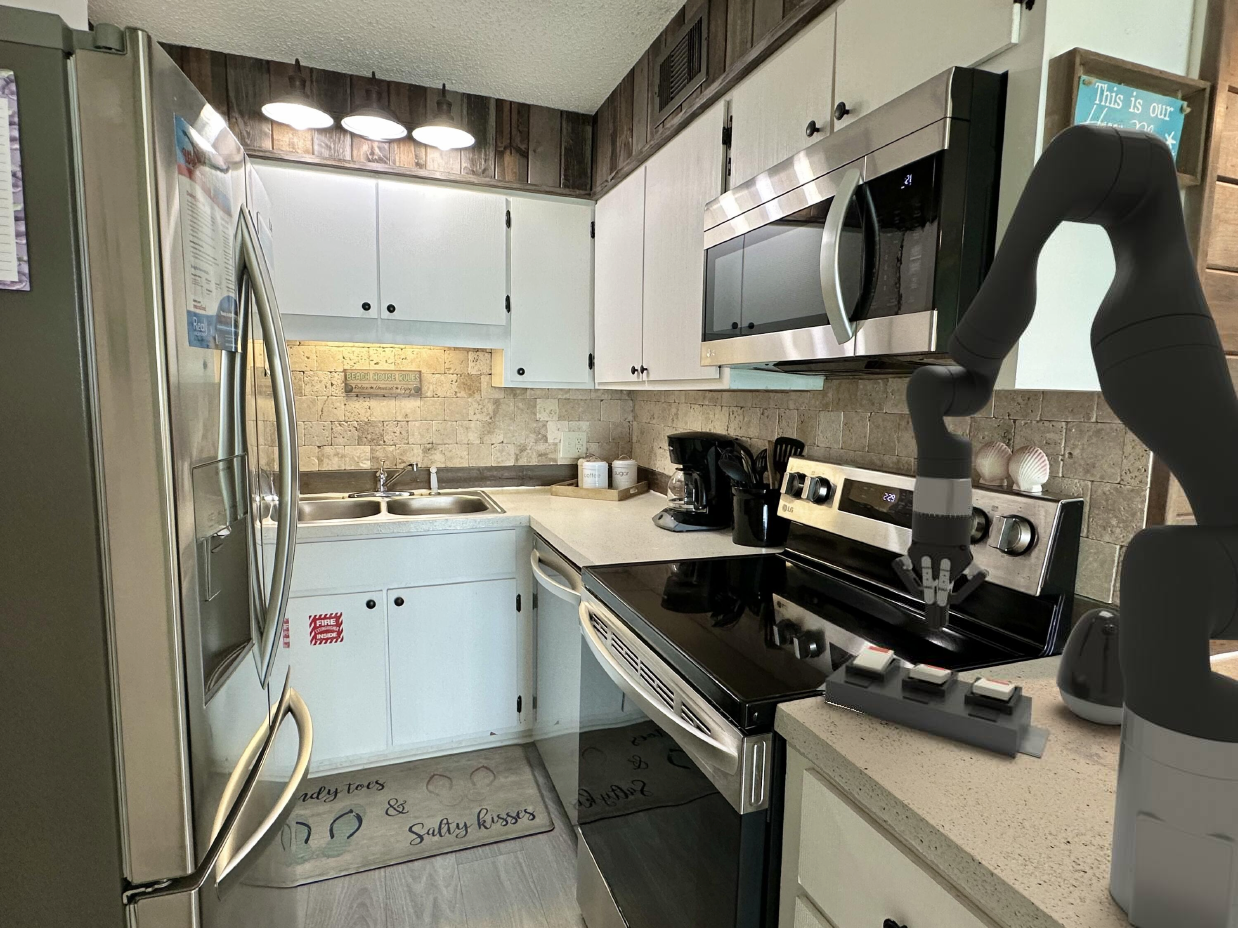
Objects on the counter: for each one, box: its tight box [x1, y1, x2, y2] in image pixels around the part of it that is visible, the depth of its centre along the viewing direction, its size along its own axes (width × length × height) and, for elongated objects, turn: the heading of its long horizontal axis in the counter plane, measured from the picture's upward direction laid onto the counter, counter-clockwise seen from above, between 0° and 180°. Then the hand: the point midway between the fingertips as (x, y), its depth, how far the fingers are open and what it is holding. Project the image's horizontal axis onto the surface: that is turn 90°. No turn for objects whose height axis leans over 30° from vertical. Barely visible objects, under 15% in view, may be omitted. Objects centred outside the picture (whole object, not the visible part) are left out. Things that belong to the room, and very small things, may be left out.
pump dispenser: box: [1055, 607, 1124, 726], centre depth 94 cm, size 10×10×15 cm
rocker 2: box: [973, 677, 1016, 700], centre depth 92 cm, size 6×4×1 cm, turn 141°
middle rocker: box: [910, 663, 952, 684], centre depth 97 cm, size 6×4×1 cm, turn 141°
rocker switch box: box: [816, 653, 1051, 759], centre depth 95 cm, size 12×29×5 cm, turn 51°
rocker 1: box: [853, 644, 895, 672], centre depth 102 cm, size 6×4×1 cm, turn 141°
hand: (936, 628), depth 97 cm, fingers closed
